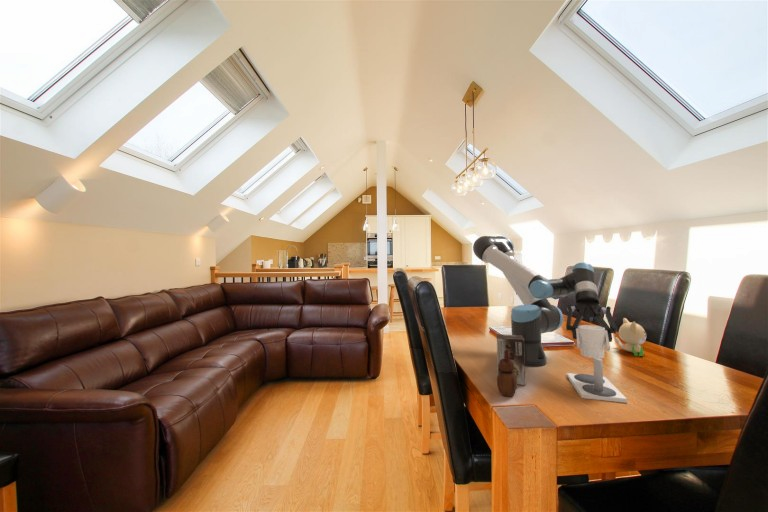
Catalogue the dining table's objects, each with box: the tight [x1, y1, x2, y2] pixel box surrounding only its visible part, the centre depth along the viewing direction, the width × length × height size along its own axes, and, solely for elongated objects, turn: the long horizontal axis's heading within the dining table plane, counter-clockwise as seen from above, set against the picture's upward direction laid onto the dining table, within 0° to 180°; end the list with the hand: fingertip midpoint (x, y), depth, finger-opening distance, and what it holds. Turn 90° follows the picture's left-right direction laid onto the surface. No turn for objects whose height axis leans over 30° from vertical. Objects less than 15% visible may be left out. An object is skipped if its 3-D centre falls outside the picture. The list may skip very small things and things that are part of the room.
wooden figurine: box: [496, 350, 518, 397], centre depth 101 cm, size 7×6×15 cm
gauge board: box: [566, 358, 628, 404], centre depth 105 cm, size 12×19×11 cm, turn 162°
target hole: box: [574, 373, 605, 384], centre depth 109 cm, size 9×9×1 cm
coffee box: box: [496, 333, 527, 386], centre depth 112 cm, size 9×6×16 cm
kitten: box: [614, 317, 648, 357], centre depth 144 cm, size 15×10×15 cm
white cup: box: [577, 324, 606, 359], centre depth 109 cm, size 8×8×10 cm
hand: (593, 347), depth 106 cm, fingers closed on white cup, 8 cm apart
